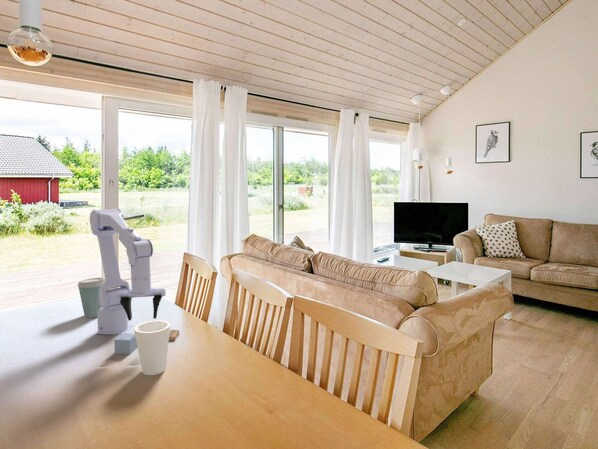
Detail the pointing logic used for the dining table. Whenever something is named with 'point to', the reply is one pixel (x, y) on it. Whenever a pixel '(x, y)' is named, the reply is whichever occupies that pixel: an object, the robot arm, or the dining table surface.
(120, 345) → the cube
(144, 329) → the foam cup
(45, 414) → the dining table surface
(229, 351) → the dining table surface
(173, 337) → the slab top
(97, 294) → the disposable coffee cup
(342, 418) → the dining table surface
